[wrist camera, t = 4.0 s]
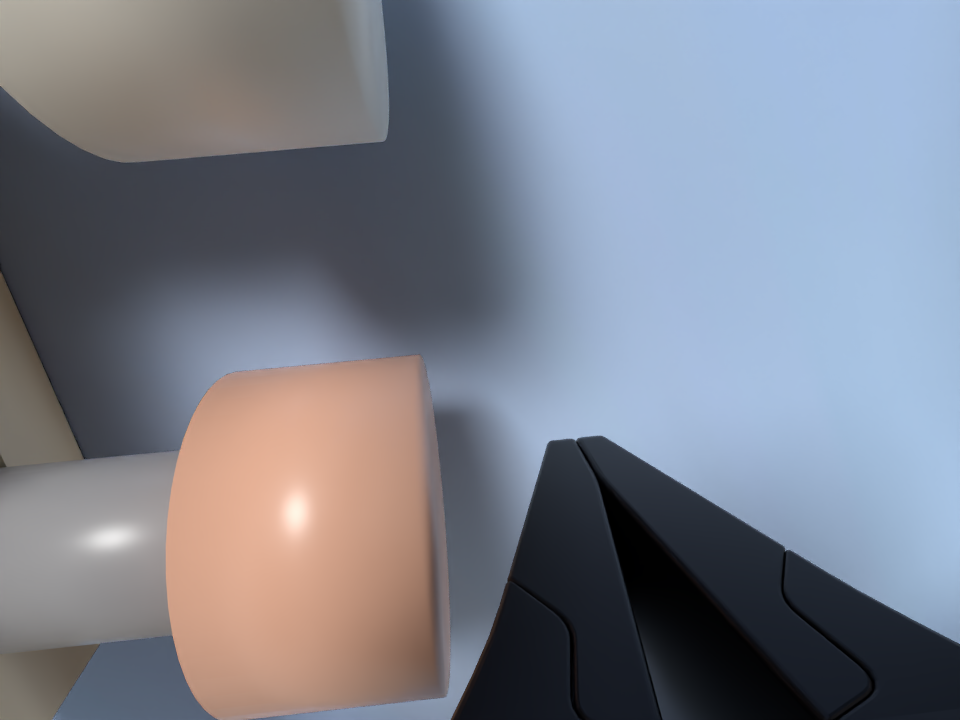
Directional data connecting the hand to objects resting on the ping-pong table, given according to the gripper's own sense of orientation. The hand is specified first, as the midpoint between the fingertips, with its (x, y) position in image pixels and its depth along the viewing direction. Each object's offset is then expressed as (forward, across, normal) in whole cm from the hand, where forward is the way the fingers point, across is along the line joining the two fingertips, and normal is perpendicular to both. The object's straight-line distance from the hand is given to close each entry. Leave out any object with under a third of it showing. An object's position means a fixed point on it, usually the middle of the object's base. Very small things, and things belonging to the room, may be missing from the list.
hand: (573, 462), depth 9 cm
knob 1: (+1, +6, 0) cm, 6 cm away
